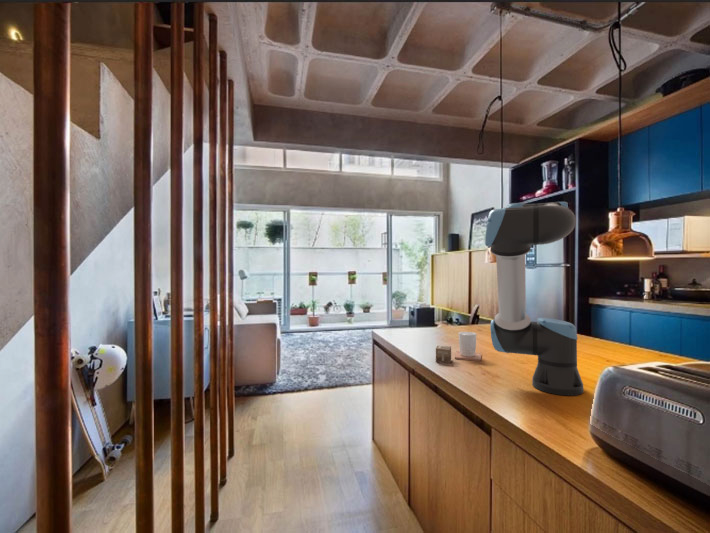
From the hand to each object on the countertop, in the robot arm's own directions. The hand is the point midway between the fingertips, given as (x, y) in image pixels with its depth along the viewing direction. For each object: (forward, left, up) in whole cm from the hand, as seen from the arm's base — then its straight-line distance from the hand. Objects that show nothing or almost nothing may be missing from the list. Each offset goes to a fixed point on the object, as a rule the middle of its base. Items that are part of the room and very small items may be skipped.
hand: (516, 288), depth 150 cm
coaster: (+2, +20, -32) cm, 38 cm away
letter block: (-8, +30, -32) cm, 44 cm away
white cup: (+2, +20, -31) cm, 37 cm away
